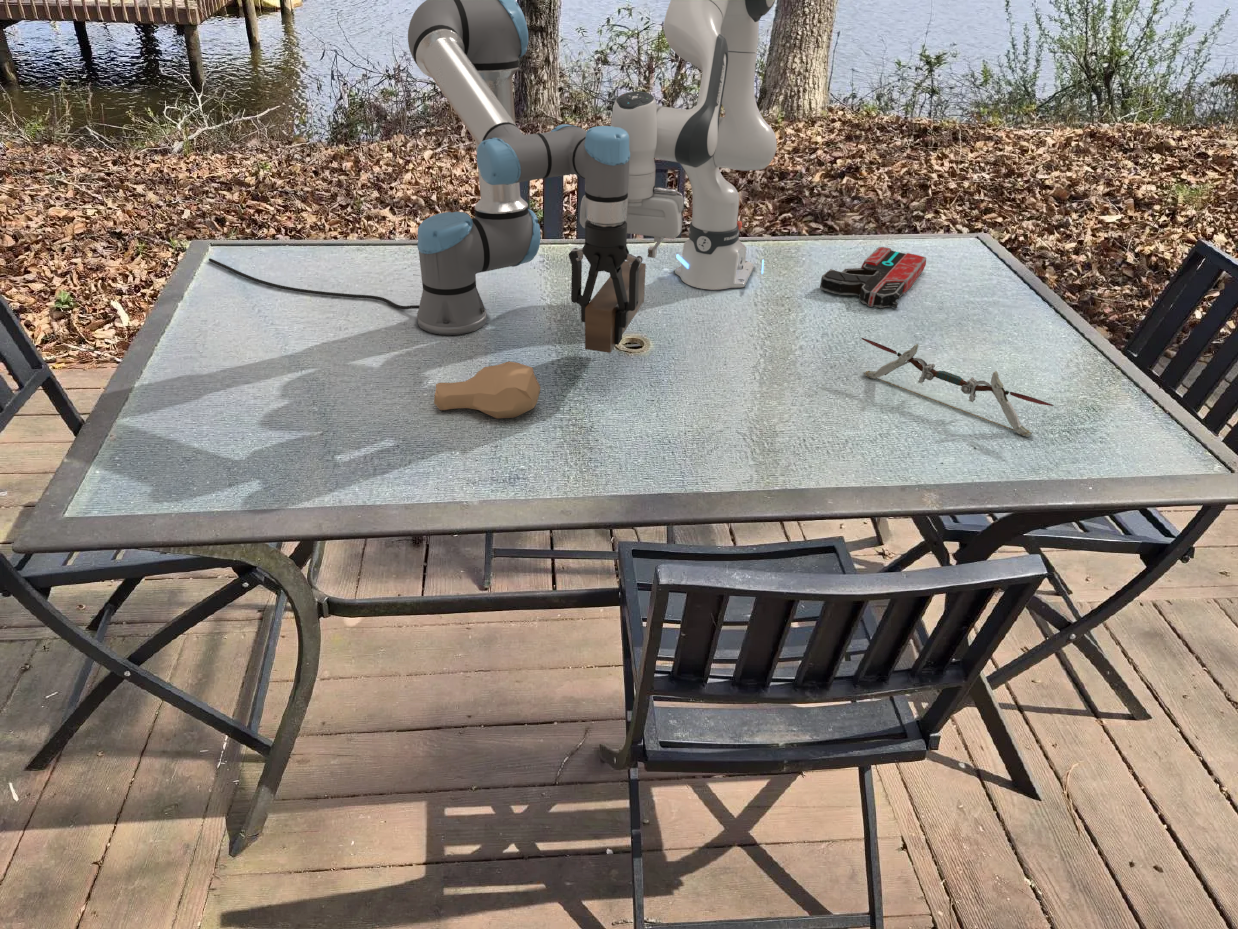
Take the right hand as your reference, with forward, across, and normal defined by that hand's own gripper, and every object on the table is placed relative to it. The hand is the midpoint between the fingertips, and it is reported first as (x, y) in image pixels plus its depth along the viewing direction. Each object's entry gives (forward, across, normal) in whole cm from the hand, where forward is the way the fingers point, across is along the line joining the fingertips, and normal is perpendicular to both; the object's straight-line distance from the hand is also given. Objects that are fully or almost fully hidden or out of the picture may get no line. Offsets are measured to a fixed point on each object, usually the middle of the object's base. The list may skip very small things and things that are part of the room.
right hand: (629, 253), depth 176 cm
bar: (+12, 0, +8) cm, 14 cm away
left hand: (+11, 0, +17) cm, 20 cm away
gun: (+21, -50, -56) cm, 78 cm away
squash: (+21, +18, +33) cm, 43 cm away
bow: (+21, -65, +4) cm, 69 cm away
